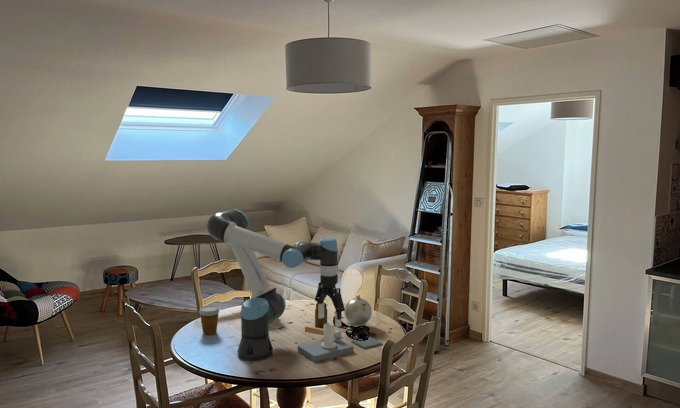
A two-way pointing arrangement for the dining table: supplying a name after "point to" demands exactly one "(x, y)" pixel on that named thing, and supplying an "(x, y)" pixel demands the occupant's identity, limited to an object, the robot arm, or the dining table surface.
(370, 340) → the pad
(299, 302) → the dining table surface
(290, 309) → the dining table surface
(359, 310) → the teapot
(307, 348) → the socket board
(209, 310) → the disposable coffee cup
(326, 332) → the white tall cylinder
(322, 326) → the condiment
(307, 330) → the orange rectangular bar
